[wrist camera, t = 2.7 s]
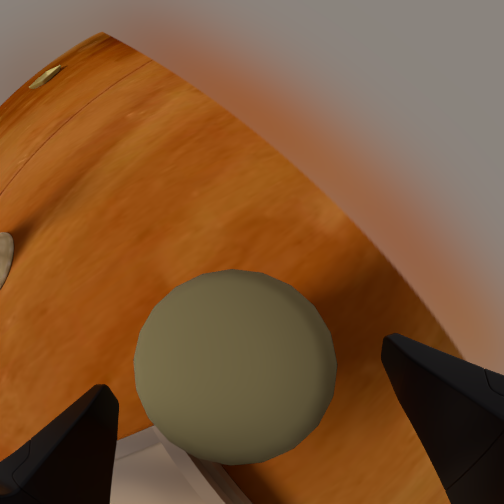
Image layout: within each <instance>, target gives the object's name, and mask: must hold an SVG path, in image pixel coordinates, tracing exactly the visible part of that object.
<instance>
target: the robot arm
mask: <svg viewBox="0 0 504 504" xmlns="http://www.w3.org/2000/svg"><path fill="white" fill-rule="evenodd" d="M381 360H382V363H383V365H384V368H385V370H386V372H387V375H388V377H389V379H390V382H391V384H392V387H393V389H394V391H395V394H396V396H397V398H398V400H399V402H400V404H401V406H402V408H403V409H404V411H405V413H406V415H407V417H408V418H409V420H410V422H411V424H412V426H413V428H414V429H415V431H416V433H417V435H418V437H419V439H420V441H421V443H422V445H423V446H424V448H425V450H426V452H427V454H428V456H429V458H430V460H431V462H432V464H433V466H434V468H435V470H436V472H437V474H438V476H439V478H440V481H441V483H442V485H443V487H444V489H445V490H446V491H445V492H446V494H447V496H448V498H449V500H450V503H451V504H504V375H501V374H499V373H496V372H493V371H490V370H488V369H484V368H482V367H480V366H477V365H475V364H472V363H469V362H467V361H464V360H462V359H459V358H457V357H454V356H452V355H449V354H447V353H444V352H442V351H439V350H437V349H434V348H432V347H429V346H427V345H424V344H422V343H420V342H417V341H415V340H412V339H410V338H407V337H405V336H402V335H400V334H398V333H393V334H390V335H387V336H385V337H384V339H383V344H382V352H381ZM118 415H119V403H118V400H117V399H116V397H115V396H114V394H113V393H112V391H111V390H110V388H109V387H108V386H107V385H105V384H97V385H94V386H93V387H92V388H91V389H90V390H88V391H87V392H86V393H85V394H84V395H83V396H81V397H80V398H79V399H78V400H77V401H75V402H74V403H73V404H72V405H71V406H69V407H68V408H67V409H66V410H65V411H63V412H62V413H61V414H60V415H59V416H57V417H56V418H55V419H54V420H53V421H52V422H50V423H49V424H48V425H47V426H46V427H44V428H43V429H42V430H41V431H40V432H38V433H37V434H36V435H35V436H34V437H32V438H31V440H29V441H28V442H26V443H25V444H24V445H23V446H22V447H20V448H19V449H18V450H17V451H15V452H14V453H12V454H11V455H10V456H8V457H7V458H5V459H4V460H2V461H1V462H0V504H110V496H111V485H112V476H113V467H114V460H115V452H116V445H117V431H118Z"/></svg>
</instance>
